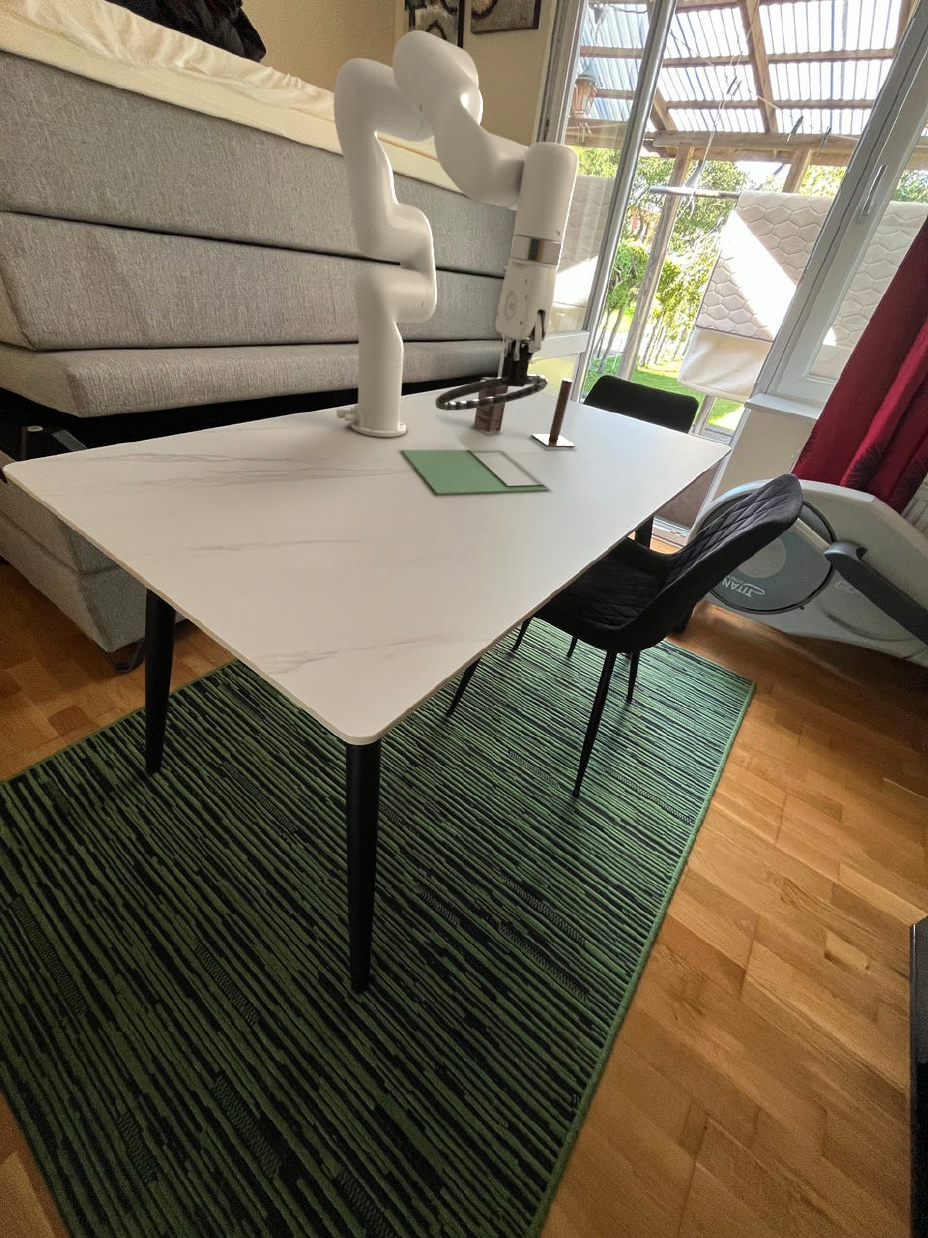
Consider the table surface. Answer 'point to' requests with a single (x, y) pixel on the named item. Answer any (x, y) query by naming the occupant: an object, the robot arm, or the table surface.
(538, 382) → the ring
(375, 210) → the robot arm
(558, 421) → the post
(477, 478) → the mat
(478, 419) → the box
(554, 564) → the table surface
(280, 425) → the table surface
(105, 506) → the table surface
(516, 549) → the table surface
